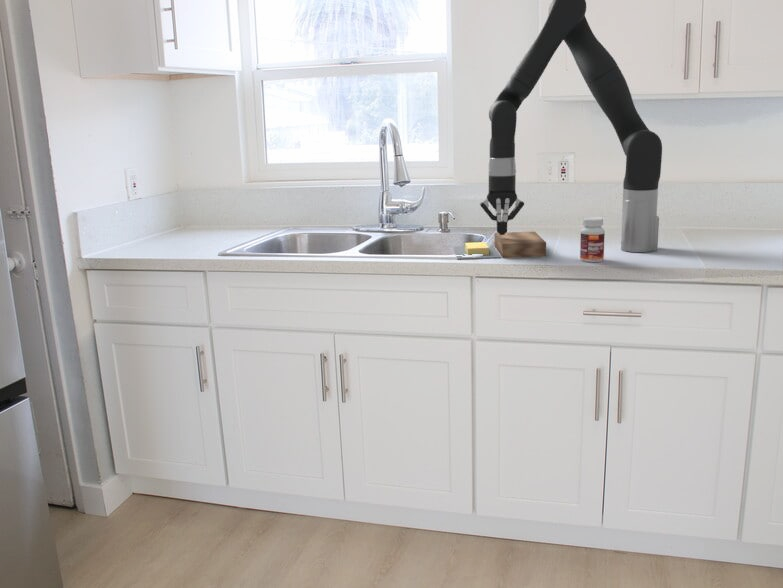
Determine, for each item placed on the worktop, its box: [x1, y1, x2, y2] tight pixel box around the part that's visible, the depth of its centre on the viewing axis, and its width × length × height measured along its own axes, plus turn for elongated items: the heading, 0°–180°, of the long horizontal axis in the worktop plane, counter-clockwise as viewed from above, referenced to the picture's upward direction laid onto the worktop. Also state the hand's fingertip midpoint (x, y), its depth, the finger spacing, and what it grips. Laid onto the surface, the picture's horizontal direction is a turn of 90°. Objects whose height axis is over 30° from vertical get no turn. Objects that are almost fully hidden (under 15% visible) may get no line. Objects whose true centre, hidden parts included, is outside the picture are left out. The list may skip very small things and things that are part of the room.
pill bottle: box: [579, 216, 606, 263], centre depth 199 cm, size 6×6×11 cm
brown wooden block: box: [494, 231, 547, 259], centre depth 216 cm, size 12×18×4 cm, turn 179°
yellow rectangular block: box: [464, 241, 489, 255], centre depth 215 cm, size 6×9×2 cm, turn 0°
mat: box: [452, 244, 502, 260], centre depth 217 cm, size 12×18×1 cm, turn 179°
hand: (501, 234), depth 214 cm, fingers closed
